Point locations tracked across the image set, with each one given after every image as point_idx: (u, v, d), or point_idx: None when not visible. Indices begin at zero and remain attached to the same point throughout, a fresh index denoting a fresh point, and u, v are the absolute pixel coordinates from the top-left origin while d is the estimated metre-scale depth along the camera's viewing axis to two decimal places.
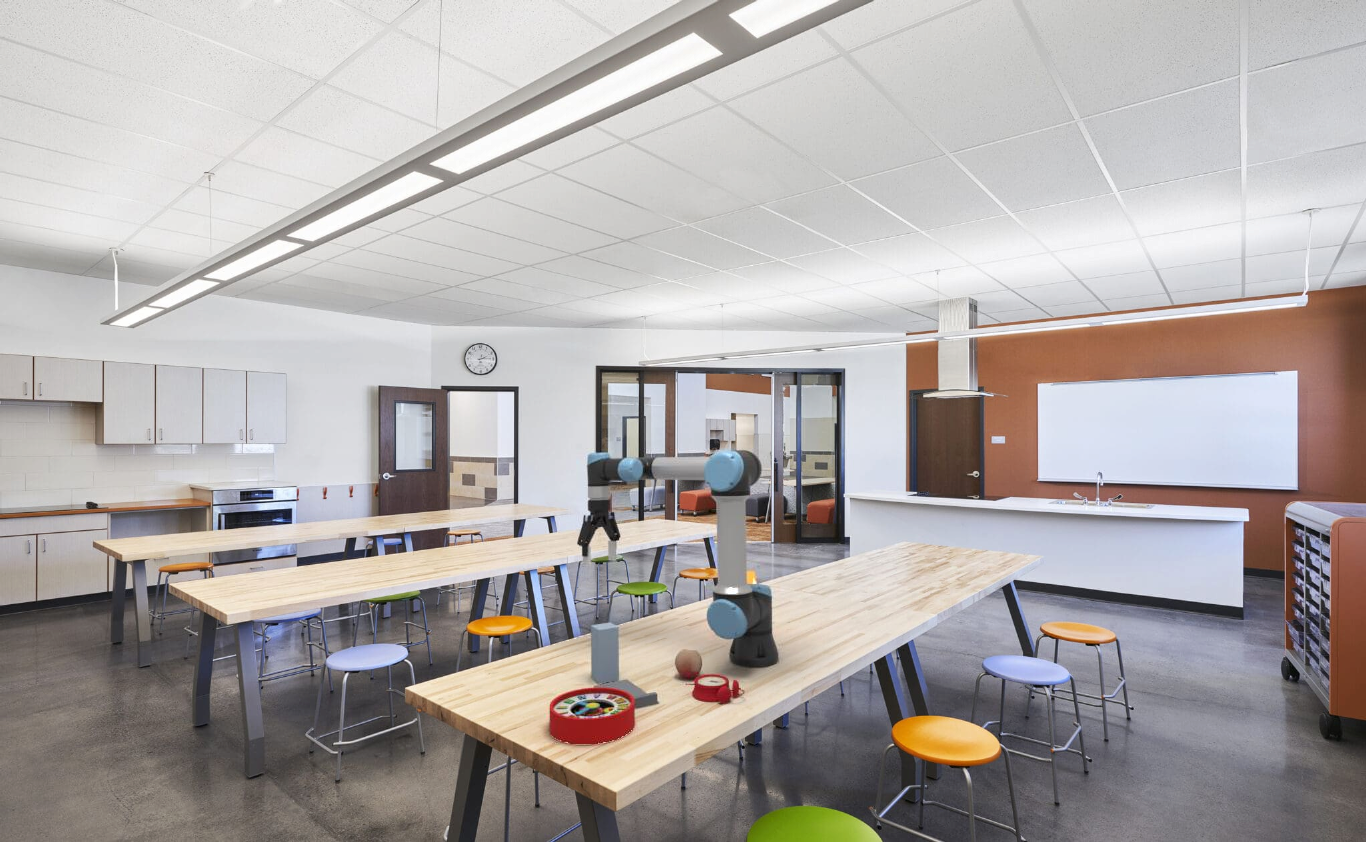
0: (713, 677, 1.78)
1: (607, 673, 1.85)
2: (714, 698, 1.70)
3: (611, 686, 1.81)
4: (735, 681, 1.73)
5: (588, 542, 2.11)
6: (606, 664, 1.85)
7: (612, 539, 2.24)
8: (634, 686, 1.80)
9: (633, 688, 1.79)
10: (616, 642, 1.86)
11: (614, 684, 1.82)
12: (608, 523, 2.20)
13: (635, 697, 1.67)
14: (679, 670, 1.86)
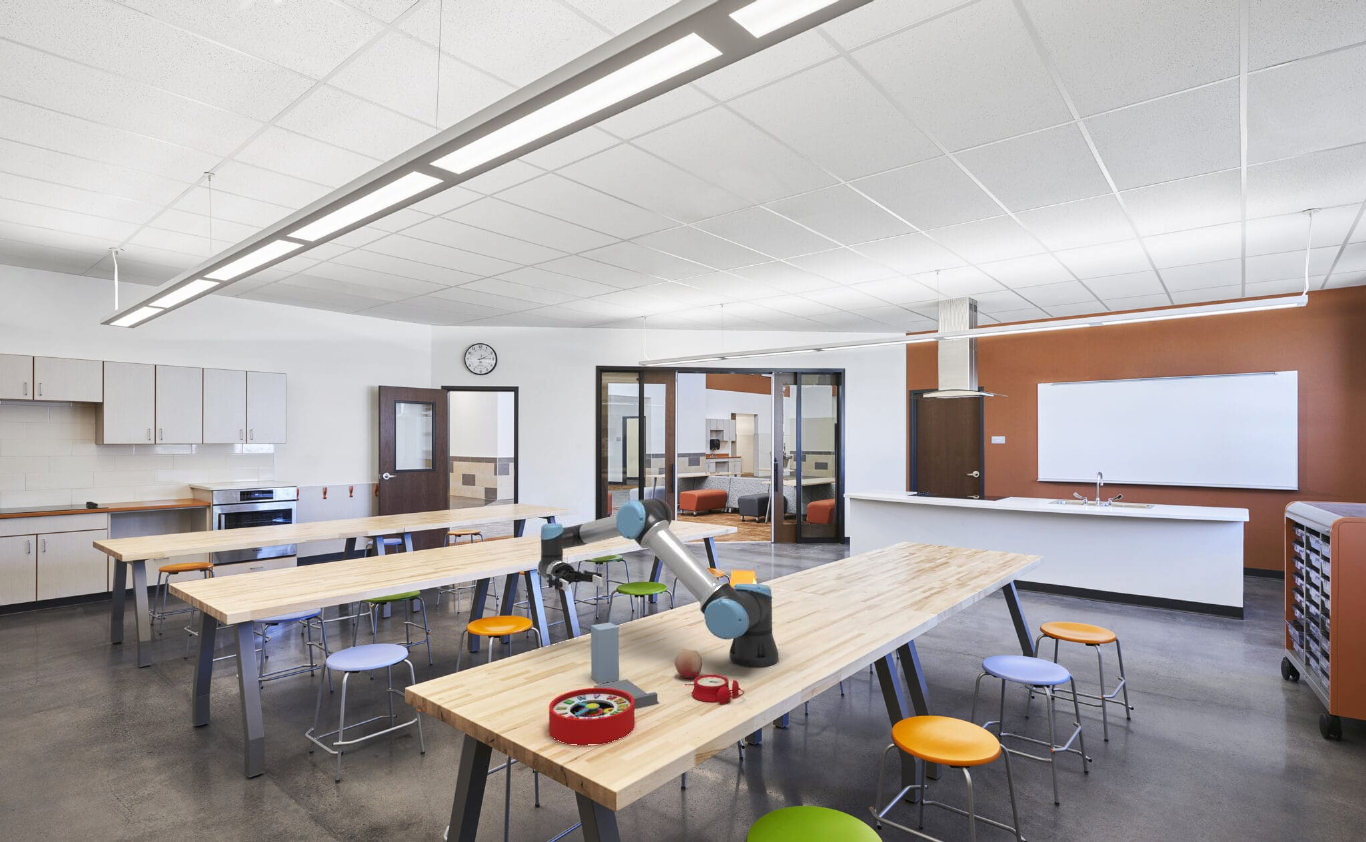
0: (713, 678, 1.77)
1: (607, 673, 1.85)
2: (714, 698, 1.69)
3: (611, 686, 1.81)
4: (735, 681, 1.73)
5: (556, 578, 2.06)
6: (606, 664, 1.85)
7: None
8: (634, 686, 1.80)
9: (633, 688, 1.79)
10: (616, 642, 1.86)
11: (614, 684, 1.82)
12: (576, 571, 2.15)
13: (635, 697, 1.67)
14: (679, 670, 1.86)
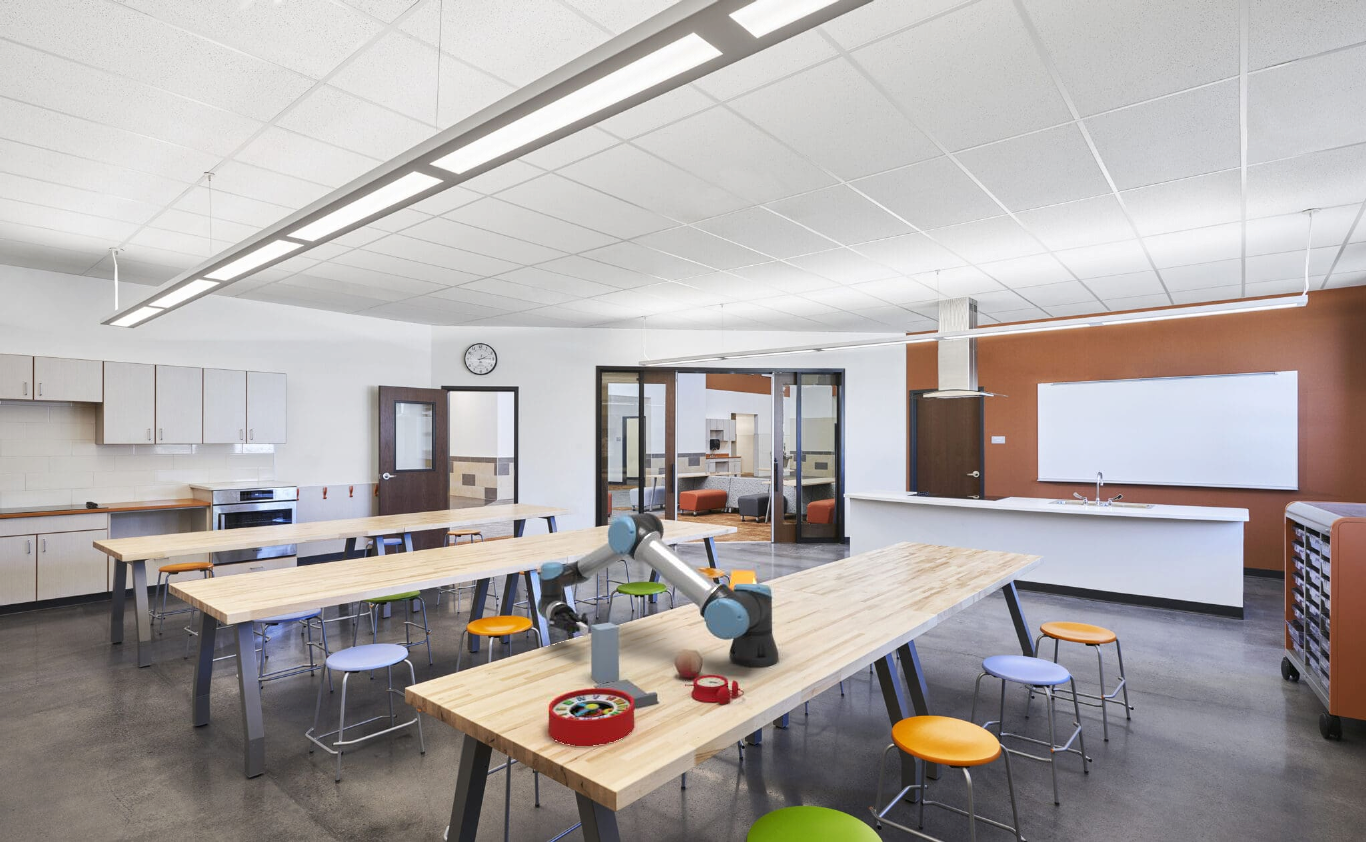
0: (712, 678, 1.77)
1: (607, 673, 1.85)
2: (714, 699, 1.69)
3: (611, 686, 1.81)
4: (734, 682, 1.73)
5: (572, 622, 2.07)
6: (606, 664, 1.85)
7: None
8: (634, 686, 1.80)
9: (633, 688, 1.79)
10: (616, 642, 1.86)
11: (614, 684, 1.82)
12: (572, 614, 2.14)
13: (635, 697, 1.67)
14: (679, 670, 1.86)
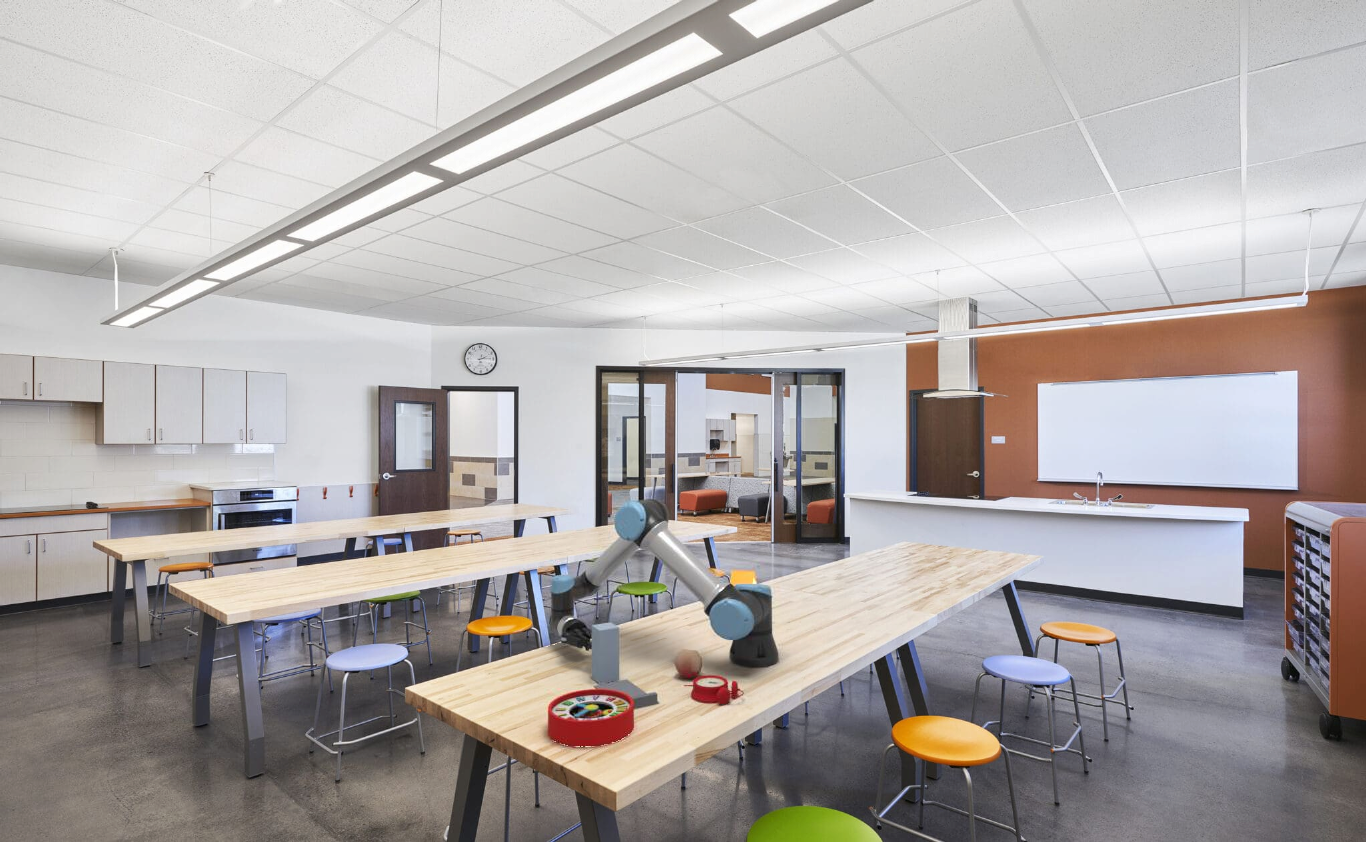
0: (712, 678, 1.77)
1: (607, 673, 1.85)
2: (713, 699, 1.69)
3: (611, 686, 1.81)
4: (734, 682, 1.73)
5: (585, 638, 1.97)
6: (606, 664, 1.84)
7: None
8: (634, 686, 1.80)
9: (633, 688, 1.79)
10: (617, 642, 1.86)
11: (614, 684, 1.82)
12: (585, 630, 2.04)
13: (635, 697, 1.67)
14: (679, 670, 1.86)
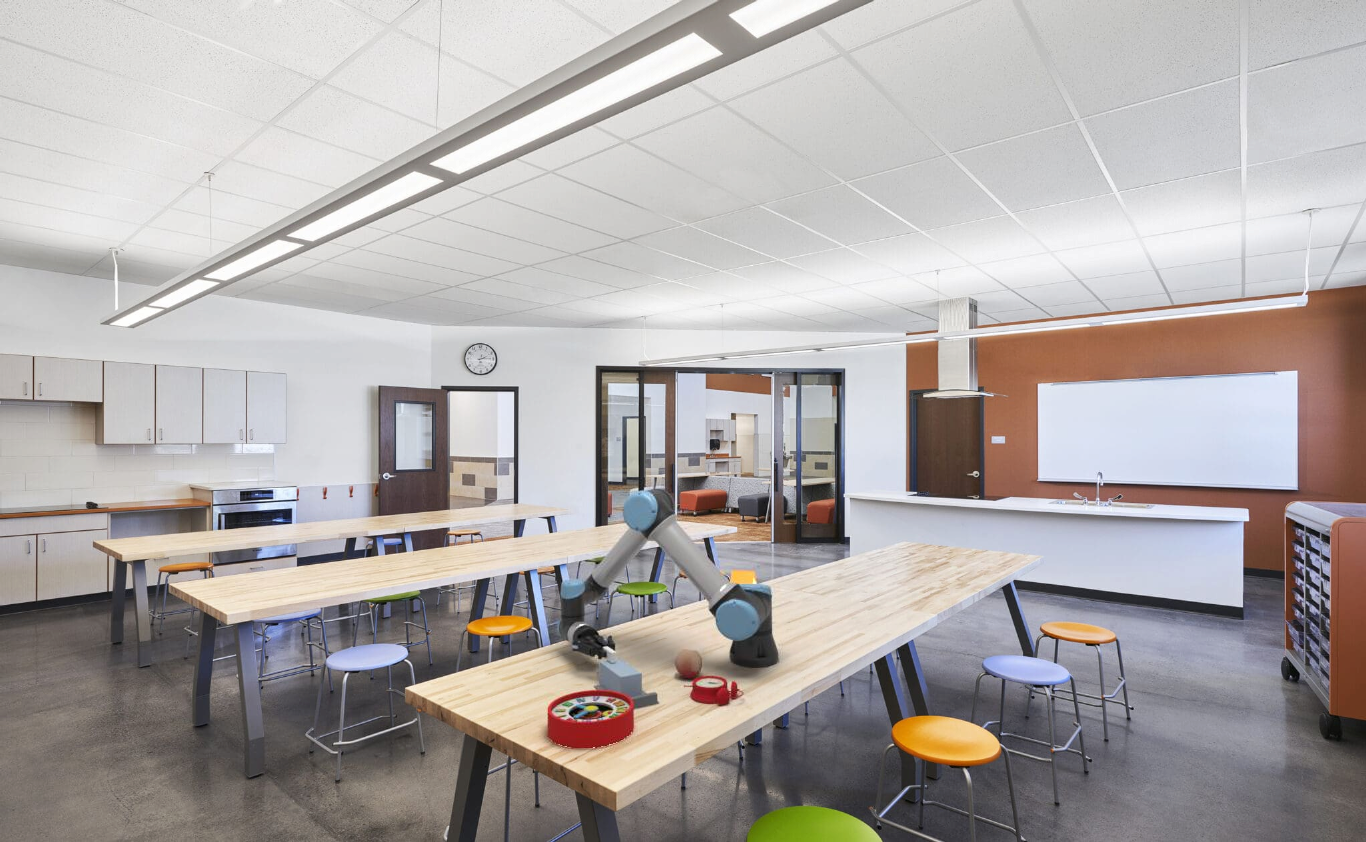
0: (711, 679, 1.77)
1: None
2: (713, 700, 1.68)
3: None
4: (734, 682, 1.73)
5: (598, 646, 1.88)
6: None
7: None
8: None
9: None
10: None
11: None
12: (597, 637, 1.95)
13: (635, 697, 1.67)
14: (679, 670, 1.86)
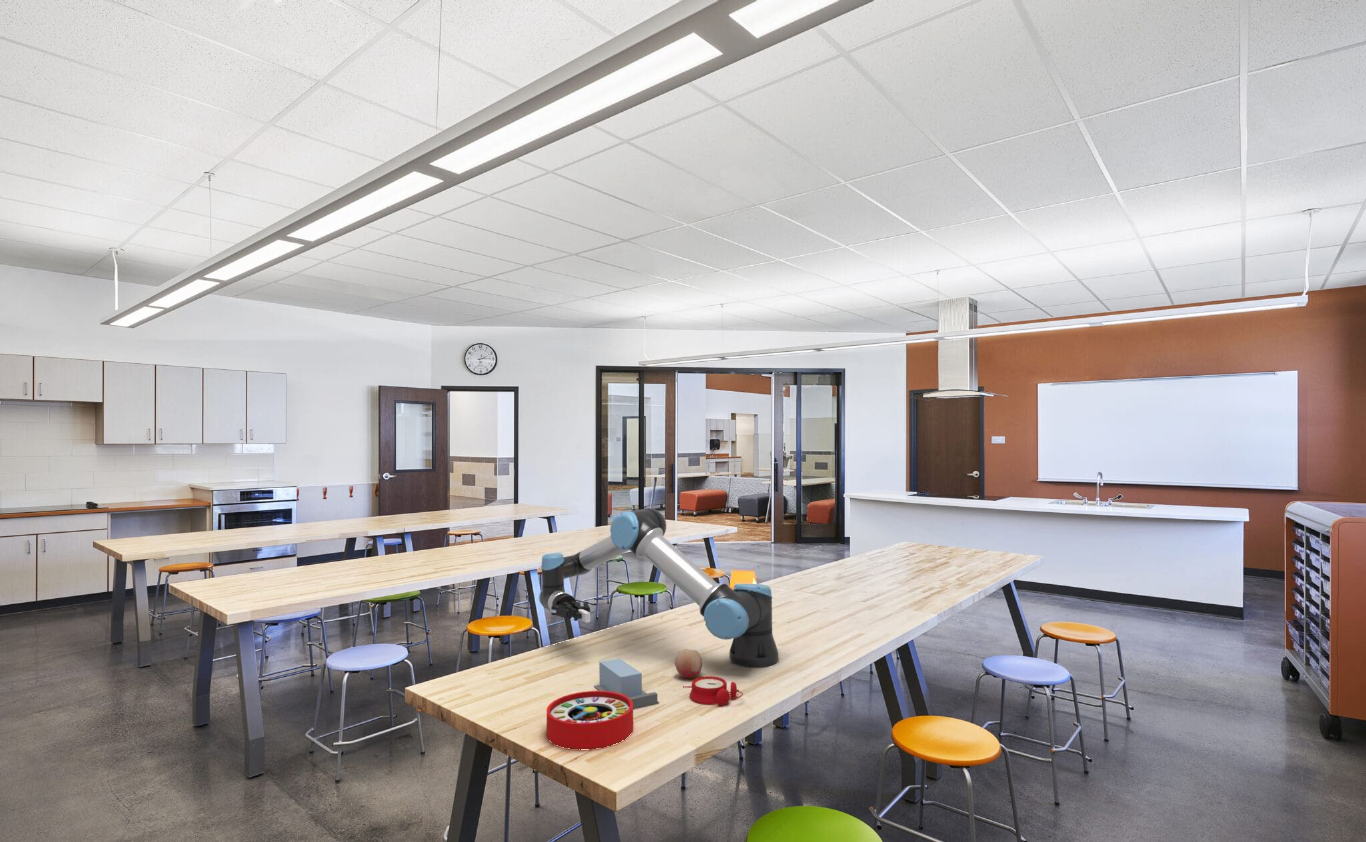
0: (710, 679, 1.76)
1: None
2: (713, 700, 1.68)
3: None
4: (733, 683, 1.72)
5: (574, 609, 2.07)
6: None
7: None
8: None
9: None
10: None
11: None
12: (574, 603, 2.15)
13: (635, 697, 1.67)
14: (679, 670, 1.86)
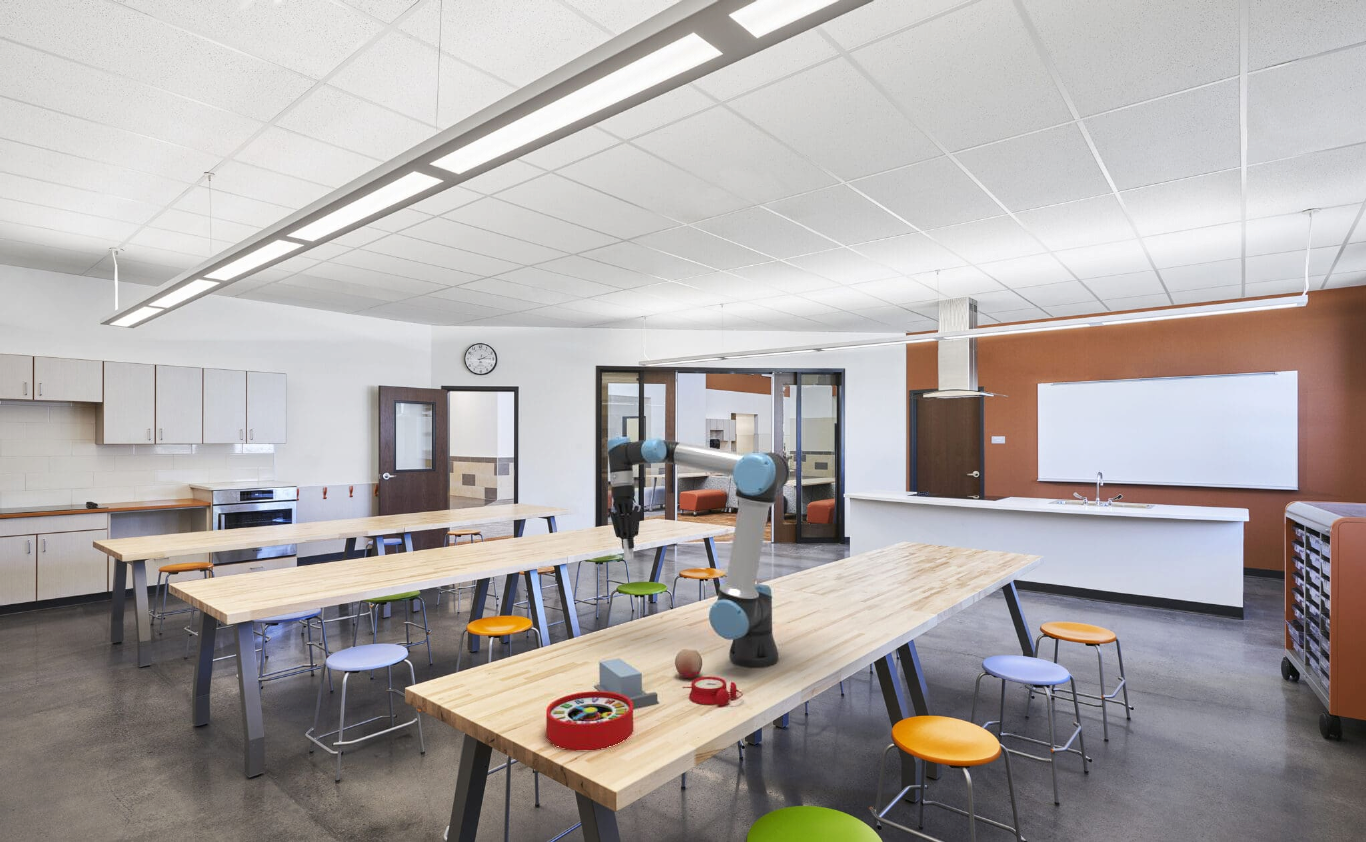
0: (710, 680, 1.76)
1: None
2: (712, 701, 1.68)
3: None
4: (733, 683, 1.72)
5: None
6: None
7: (625, 537, 2.11)
8: None
9: None
10: None
11: None
12: None
13: (635, 697, 1.67)
14: (679, 670, 1.86)
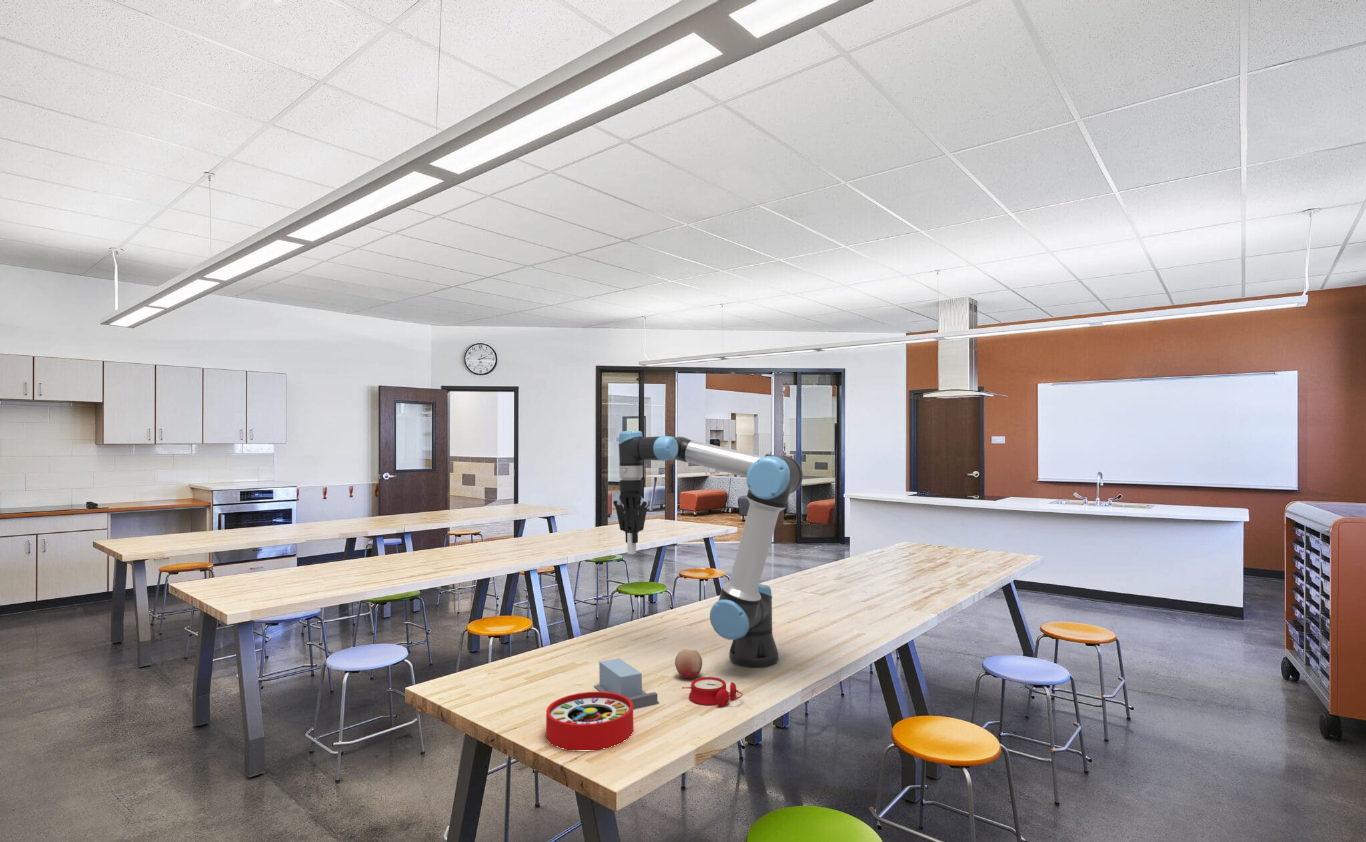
0: (710, 680, 1.76)
1: None
2: (712, 701, 1.67)
3: None
4: (732, 683, 1.72)
5: None
6: None
7: (629, 531, 2.10)
8: None
9: None
10: None
11: None
12: None
13: (635, 697, 1.67)
14: (679, 670, 1.86)
